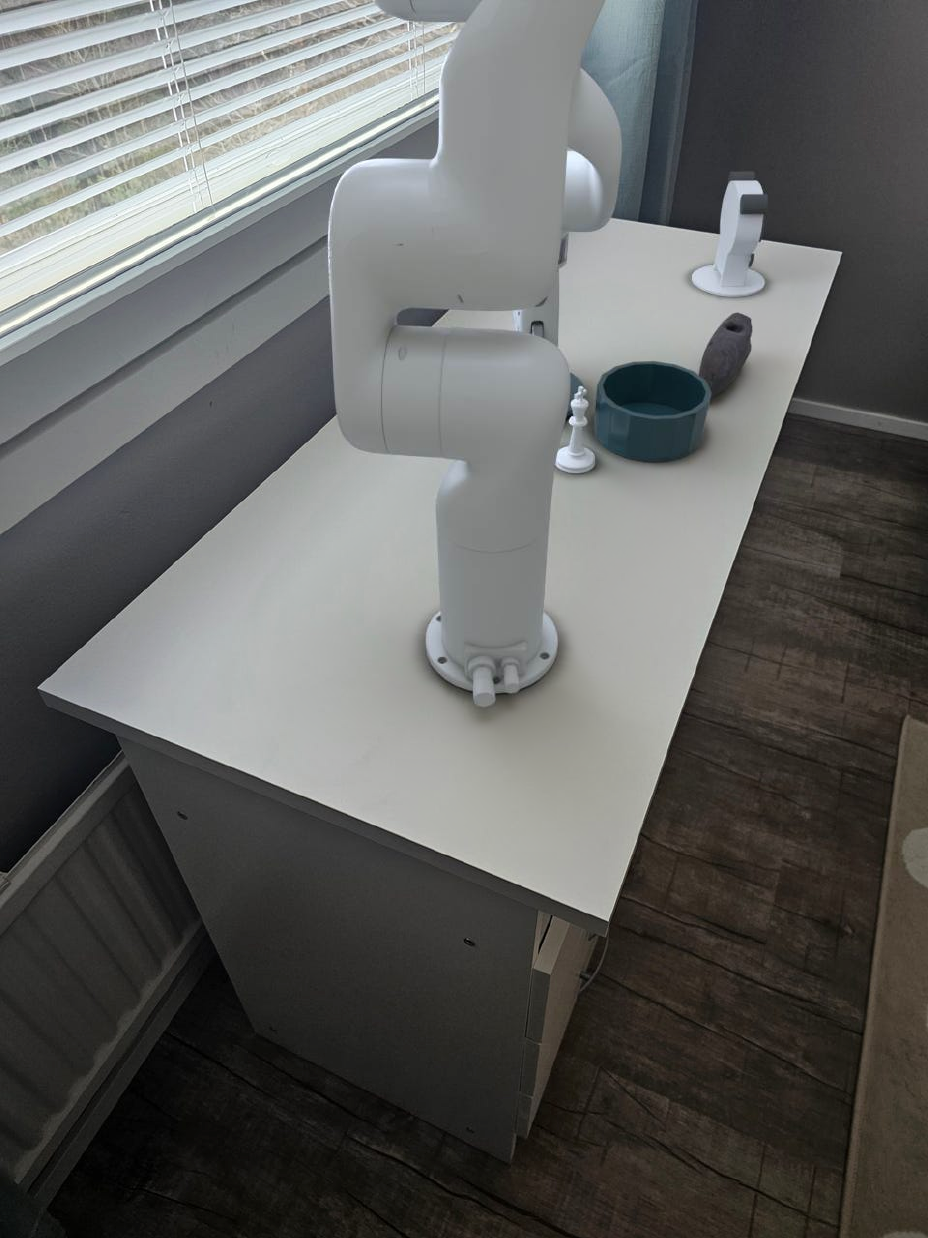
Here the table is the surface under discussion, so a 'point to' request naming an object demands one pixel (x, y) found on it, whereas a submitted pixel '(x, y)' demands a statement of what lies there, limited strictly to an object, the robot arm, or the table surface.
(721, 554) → the table surface
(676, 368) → the bowl
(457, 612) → the robot arm
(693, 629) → the table surface
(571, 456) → the chess piece
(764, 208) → the white stand
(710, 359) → the perforated stone tool
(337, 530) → the table surface
